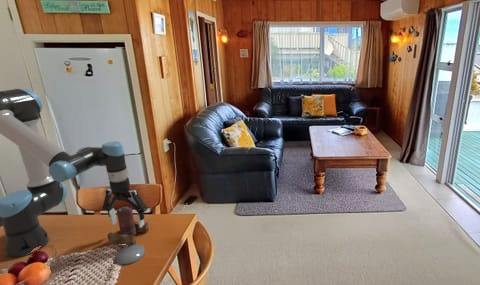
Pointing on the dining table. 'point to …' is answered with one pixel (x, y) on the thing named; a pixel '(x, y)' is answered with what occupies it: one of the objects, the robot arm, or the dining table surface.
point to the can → (126, 220)
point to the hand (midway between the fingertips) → (127, 224)
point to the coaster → (130, 254)
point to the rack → (127, 239)
